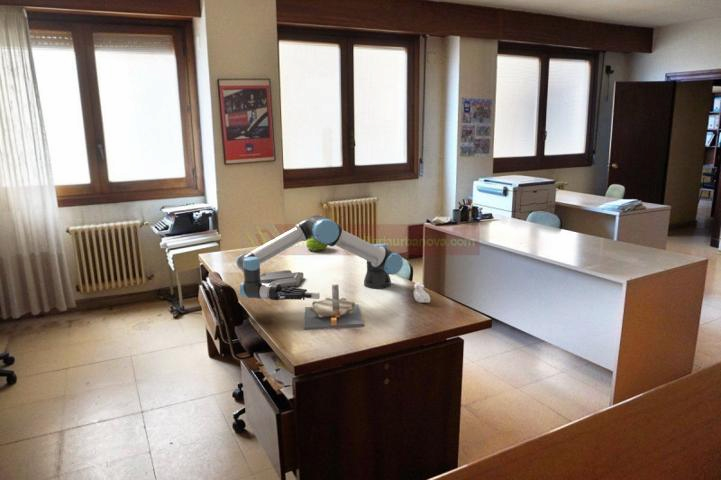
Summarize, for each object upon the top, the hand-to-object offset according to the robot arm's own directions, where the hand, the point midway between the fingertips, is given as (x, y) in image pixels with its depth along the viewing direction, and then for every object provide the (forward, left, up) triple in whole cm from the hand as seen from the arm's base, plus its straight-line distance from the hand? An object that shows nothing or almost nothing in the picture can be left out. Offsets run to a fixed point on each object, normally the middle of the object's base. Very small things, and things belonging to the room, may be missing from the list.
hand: (318, 295), depth 226 cm
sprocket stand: (-6, -3, -12) cm, 14 cm away
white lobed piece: (-6, -5, -9) cm, 12 cm away
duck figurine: (-51, -19, -12) cm, 56 cm away
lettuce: (0, -139, -12) cm, 139 cm away
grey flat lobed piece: (+22, -62, -13) cm, 67 cm away
